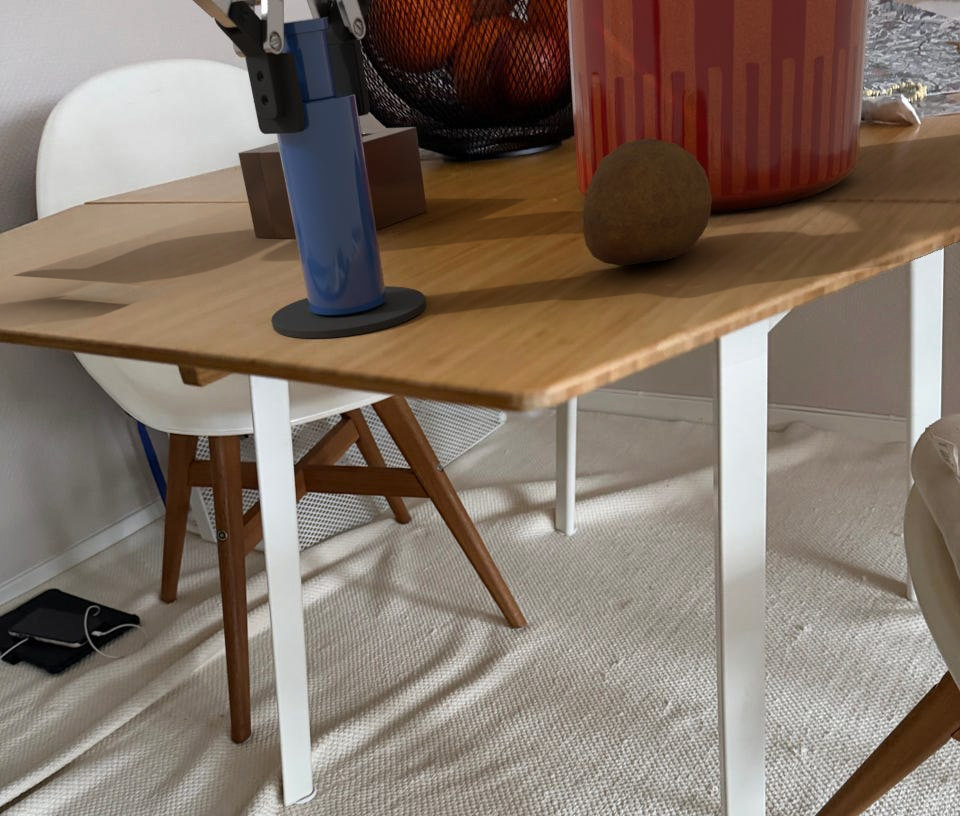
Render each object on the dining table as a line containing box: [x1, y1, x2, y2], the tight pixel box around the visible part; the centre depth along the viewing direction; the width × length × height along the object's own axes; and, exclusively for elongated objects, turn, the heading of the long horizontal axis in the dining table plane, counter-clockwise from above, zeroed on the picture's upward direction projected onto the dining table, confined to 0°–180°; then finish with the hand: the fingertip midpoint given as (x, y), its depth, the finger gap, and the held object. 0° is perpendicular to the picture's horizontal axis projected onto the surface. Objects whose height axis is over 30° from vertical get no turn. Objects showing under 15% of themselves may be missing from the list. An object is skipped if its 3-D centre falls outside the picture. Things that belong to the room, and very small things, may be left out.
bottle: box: [275, 17, 387, 315], centre depth 66 cm, size 5×5×16 cm
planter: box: [566, 0, 870, 214], centre depth 87 cm, size 23×23×20 cm
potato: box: [582, 138, 712, 266], centre depth 71 cm, size 8×12×8 cm, turn 158°
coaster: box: [270, 285, 427, 339], centre depth 70 cm, size 10×10×1 cm
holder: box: [237, 126, 428, 240], centre depth 96 cm, size 11×11×7 cm
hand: (316, 120), depth 65 cm, fingers closed on bottle, 5 cm apart
